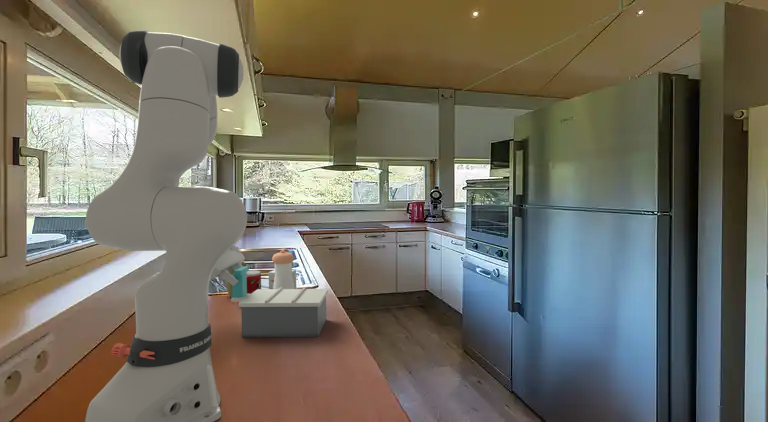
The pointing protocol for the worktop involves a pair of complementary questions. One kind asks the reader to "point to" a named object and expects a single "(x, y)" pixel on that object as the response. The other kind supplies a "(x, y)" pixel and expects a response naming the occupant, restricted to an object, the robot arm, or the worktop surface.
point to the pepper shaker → (283, 270)
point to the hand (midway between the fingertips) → (241, 280)
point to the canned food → (253, 281)
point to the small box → (272, 277)
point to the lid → (274, 295)
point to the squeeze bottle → (228, 285)
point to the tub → (283, 321)
